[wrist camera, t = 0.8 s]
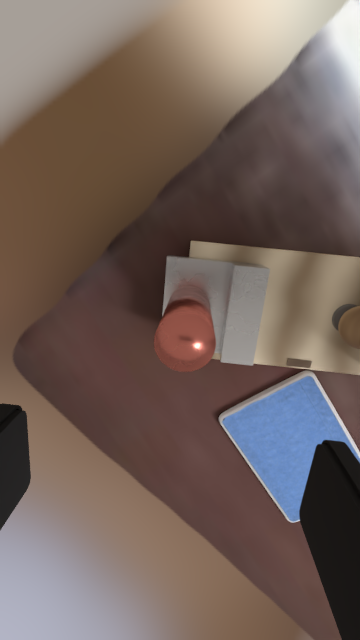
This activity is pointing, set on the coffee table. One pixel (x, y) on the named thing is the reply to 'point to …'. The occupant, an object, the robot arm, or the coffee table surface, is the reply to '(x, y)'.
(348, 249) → the coffee table surface
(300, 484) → the tablet computer
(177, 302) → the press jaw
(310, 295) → the base
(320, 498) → the robot arm
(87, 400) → the coffee table surface
